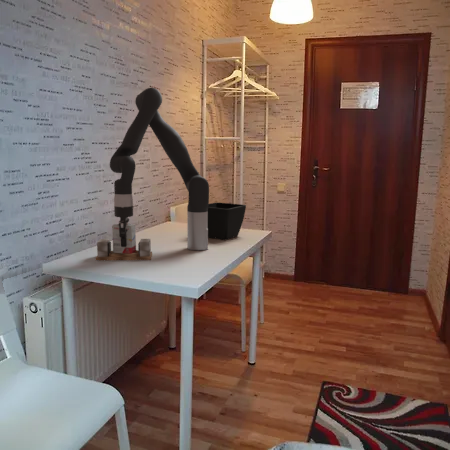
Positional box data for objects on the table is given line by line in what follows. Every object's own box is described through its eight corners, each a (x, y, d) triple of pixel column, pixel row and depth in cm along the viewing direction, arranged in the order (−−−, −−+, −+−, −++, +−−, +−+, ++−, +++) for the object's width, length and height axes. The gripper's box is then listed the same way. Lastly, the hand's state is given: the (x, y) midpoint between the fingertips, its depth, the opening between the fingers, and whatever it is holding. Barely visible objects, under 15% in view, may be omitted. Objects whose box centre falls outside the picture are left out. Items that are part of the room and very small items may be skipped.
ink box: (136, 251, 187) (136, 223, 185) (132, 254, 182) (131, 225, 180) (117, 250, 188) (116, 223, 186) (112, 252, 184) (111, 224, 182)
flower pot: (227, 241, 220) (228, 208, 218) (196, 237, 230) (196, 205, 227) (246, 236, 236) (247, 204, 234) (216, 232, 246) (216, 202, 243)
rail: (152, 254, 191) (151, 238, 190) (150, 259, 182) (150, 242, 180) (99, 255, 189) (99, 238, 188) (95, 260, 179) (95, 243, 178)
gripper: (116, 202, 189) (117, 241, 191) (111, 207, 174) (113, 249, 177) (134, 202, 189) (135, 241, 192) (131, 207, 175) (132, 248, 178)
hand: (124, 244), depth 185 cm, fingers closed on ink box, 5 cm apart
